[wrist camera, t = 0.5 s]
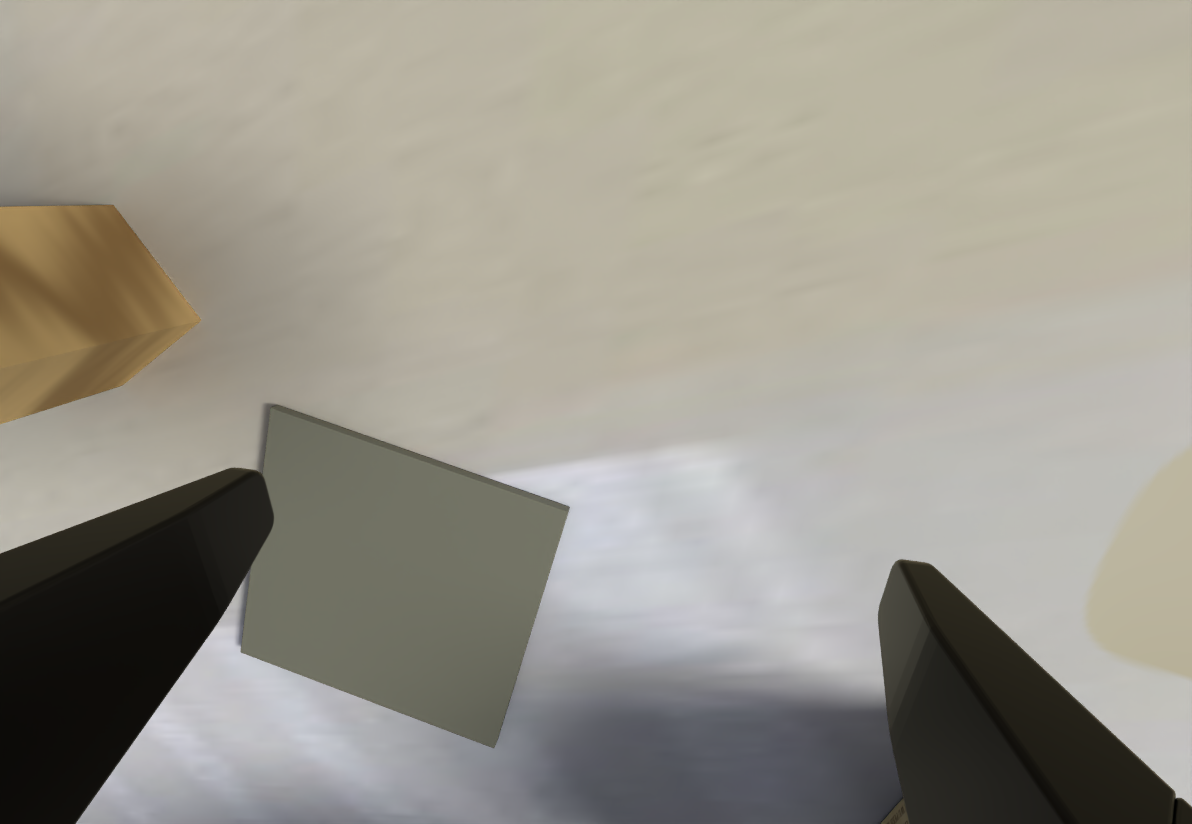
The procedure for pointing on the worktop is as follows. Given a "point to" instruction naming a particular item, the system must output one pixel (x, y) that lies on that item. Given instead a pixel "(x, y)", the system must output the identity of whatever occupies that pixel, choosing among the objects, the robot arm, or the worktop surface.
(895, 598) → the robot arm
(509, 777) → the worktop surface
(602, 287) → the worktop surface
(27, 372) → the oak block
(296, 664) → the slate mat
